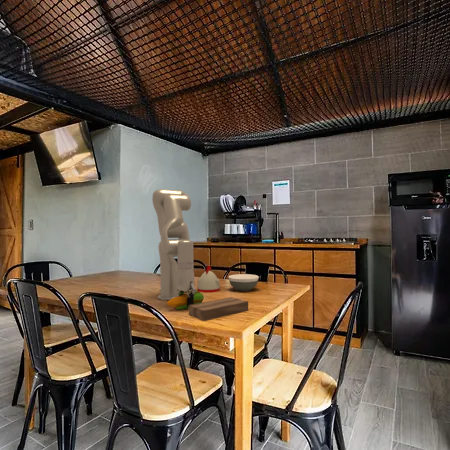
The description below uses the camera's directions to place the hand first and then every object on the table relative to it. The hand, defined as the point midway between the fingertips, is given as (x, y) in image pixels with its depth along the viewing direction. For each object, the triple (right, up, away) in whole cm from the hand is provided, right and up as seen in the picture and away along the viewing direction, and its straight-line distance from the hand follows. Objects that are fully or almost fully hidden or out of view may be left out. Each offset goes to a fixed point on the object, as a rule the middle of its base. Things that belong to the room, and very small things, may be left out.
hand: (186, 303), depth 142 cm
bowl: (+30, -3, +42) cm, 51 cm away
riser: (+16, -2, -9) cm, 18 cm away
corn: (0, -2, 0) cm, 2 cm away
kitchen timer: (+8, -3, +41) cm, 42 cm away
